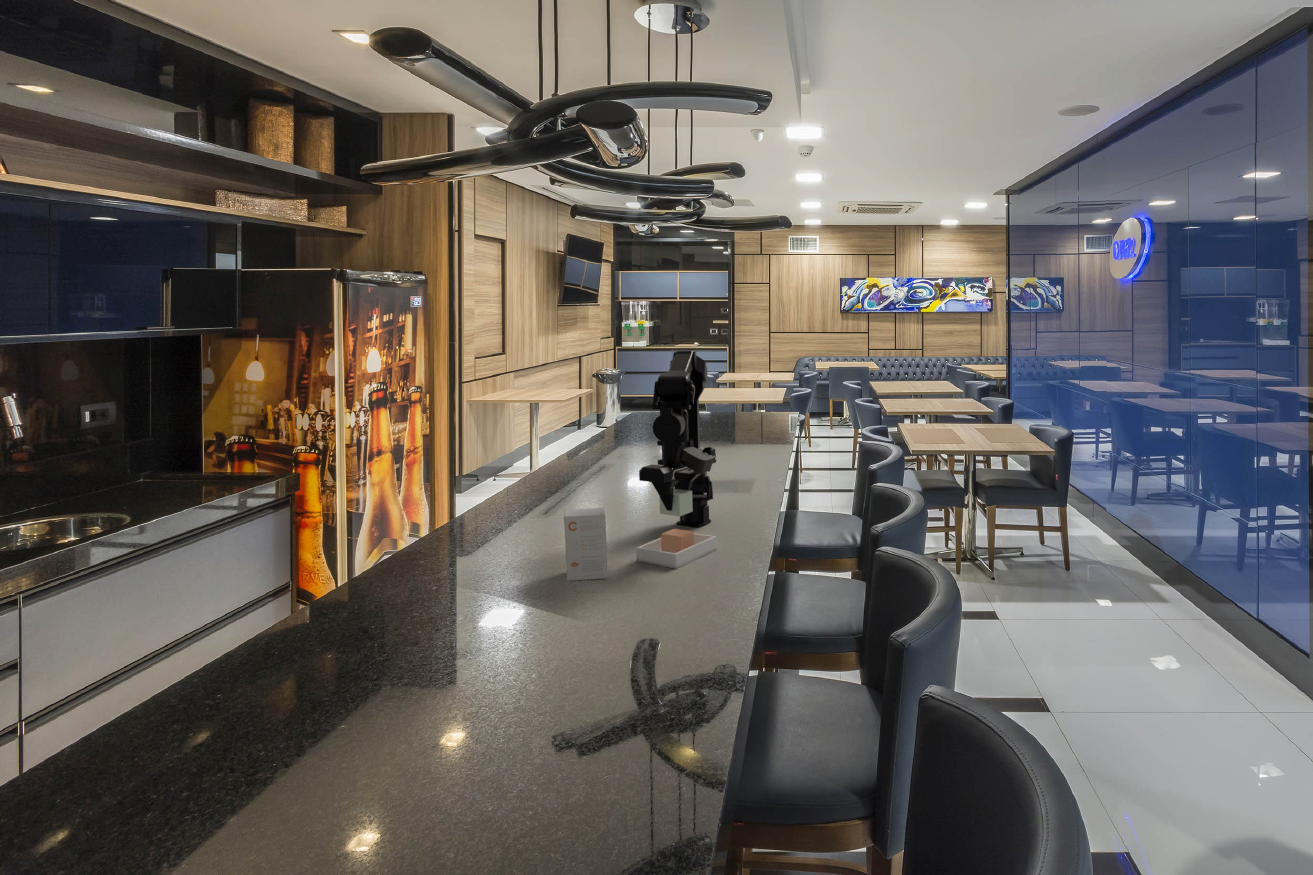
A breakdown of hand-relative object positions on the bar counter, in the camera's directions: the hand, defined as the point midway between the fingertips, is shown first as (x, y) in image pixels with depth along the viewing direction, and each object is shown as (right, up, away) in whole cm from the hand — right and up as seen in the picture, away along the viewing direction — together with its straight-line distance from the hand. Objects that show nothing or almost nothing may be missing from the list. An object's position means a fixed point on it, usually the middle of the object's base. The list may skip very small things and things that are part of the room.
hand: (676, 508), depth 173 cm
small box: (-18, -13, -11) cm, 24 cm away
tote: (0, -10, +1) cm, 10 cm away
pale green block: (0, -1, 0) cm, 1 cm away
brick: (0, -10, +1) cm, 10 cm away
